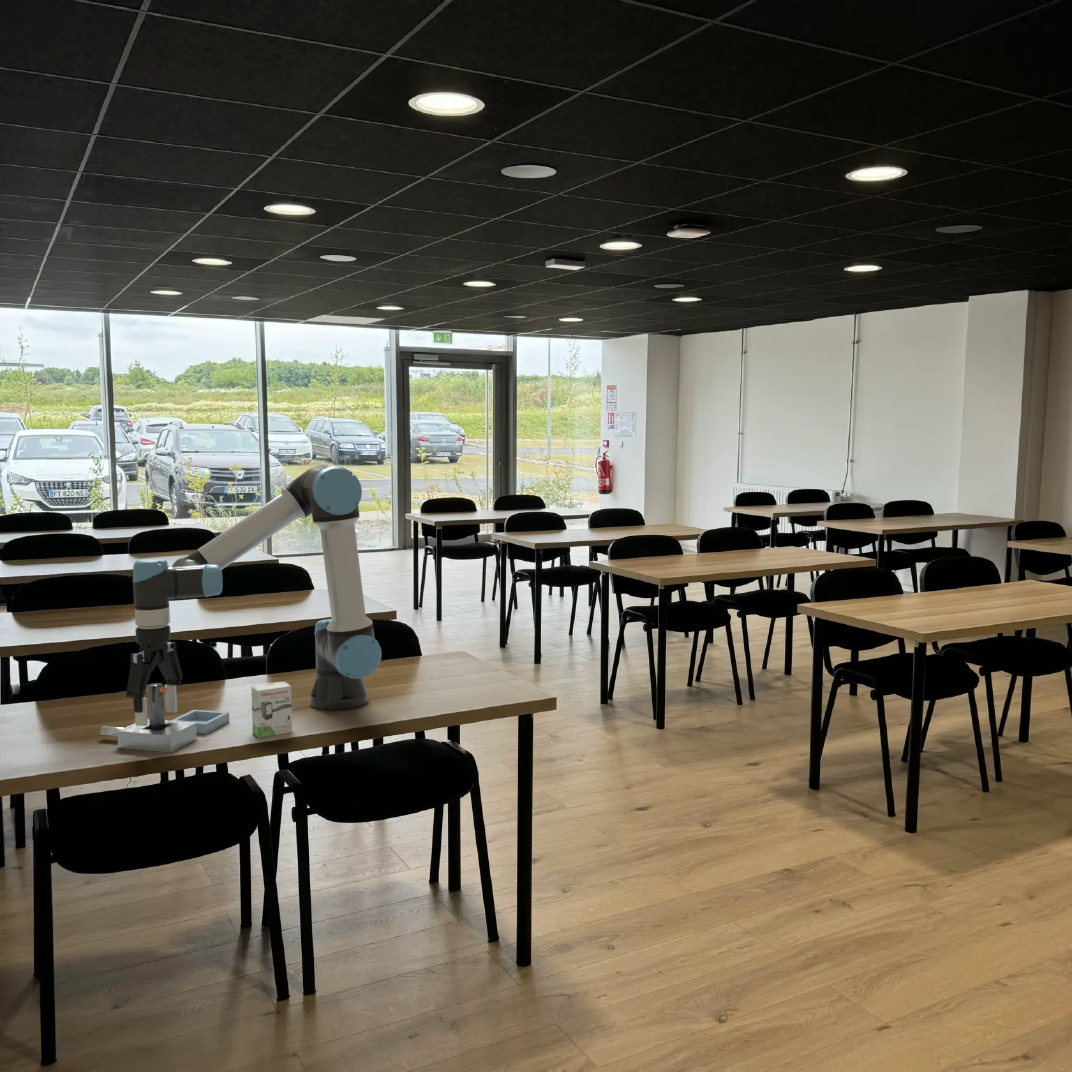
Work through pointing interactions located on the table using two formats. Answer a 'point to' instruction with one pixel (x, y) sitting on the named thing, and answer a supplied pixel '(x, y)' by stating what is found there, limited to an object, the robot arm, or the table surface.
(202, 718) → the parts tray
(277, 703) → the ink box
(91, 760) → the table surface
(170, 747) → the block
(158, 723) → the pin
